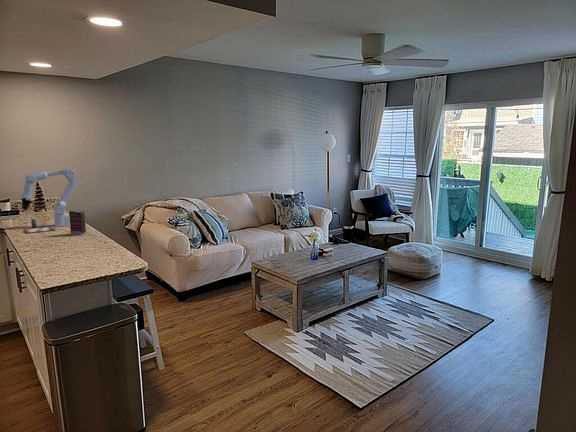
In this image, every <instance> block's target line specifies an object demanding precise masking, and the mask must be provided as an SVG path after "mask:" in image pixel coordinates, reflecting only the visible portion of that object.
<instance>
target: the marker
mask: <svg viewBox="0 0 576 432" xmlns="http://www.w3.org/2000/svg"><path fill="white" fill-rule="evenodd" d="M30 222H31V223H30V224H31V229H34V228H38V226H37V218H36V217H33V218H30Z"/></svg>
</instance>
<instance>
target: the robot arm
mask: <svg viewBox="0 0 576 432" xmlns="http://www.w3.org/2000/svg"><path fill="white" fill-rule="evenodd" d="M59 175H61V176H64V177H65V178H67V181H68V184H67V186H66V187H65V189H64V191H63V193H62V195H61V197H60V198H59V201H58V202H57V203H56V204H55V205H54V206H53V207H52V208H53V211H54V213H53V216H54V218H53V219H54V224H53V227H64V226H70V218H69V212H67V213H65V211H66V206H67V202H68V201H69V198H70V196H71V195H72V193H73V191H74V189H75V187H76V185H77V183H78V180H77V174H76V171H75V170H73V169H71V168H61V169H57V170H51V171H47V172H46V171H43V170H41V171H39V172H32V173H29V174H27V175H25V182H24V185H23V191H22V195H21V194H20V197H21V205H22V206H21V208H22V209H23V210H26V211H27V210H28V208H29V206H30V204H31V203H32V202H33V201H32V200H31V199H32V198H33V193H34V187H35V182H40V181H43V180H47V179H48V177H54V176H59Z"/></svg>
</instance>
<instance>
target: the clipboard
mask: <svg viewBox="0 0 576 432" xmlns="http://www.w3.org/2000/svg"><path fill="white" fill-rule="evenodd" d="M54 227H55V226H48V227H46V226H45V227H37V228H26V229H25V228H24V229H23V232H24V231H25V232H24V233H25V234H26V235H27V234H37V233H46V232H47V233H48V232H56V228H54Z"/></svg>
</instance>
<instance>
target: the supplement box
mask: <svg viewBox="0 0 576 432" xmlns="http://www.w3.org/2000/svg"><path fill="white" fill-rule="evenodd" d="M68 216H69V226H70V227H69V229H70V235H81V236H82V235H86V234H87V229H86V216H85V211H84V210H70V211H69V212H68ZM85 233H86V234H85Z"/></svg>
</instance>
